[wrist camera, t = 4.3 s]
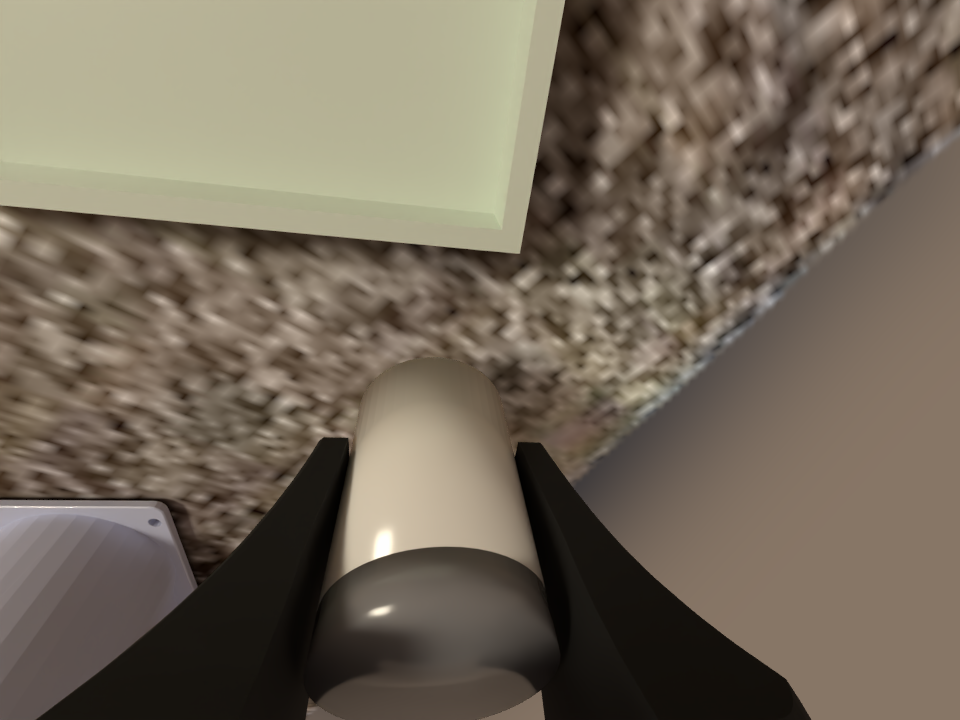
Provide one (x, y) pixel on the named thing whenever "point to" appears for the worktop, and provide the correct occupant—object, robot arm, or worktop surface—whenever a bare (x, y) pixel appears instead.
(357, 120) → the tray
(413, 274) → the worktop surface
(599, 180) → the worktop surface
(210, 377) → the worktop surface
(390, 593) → the cylinder
